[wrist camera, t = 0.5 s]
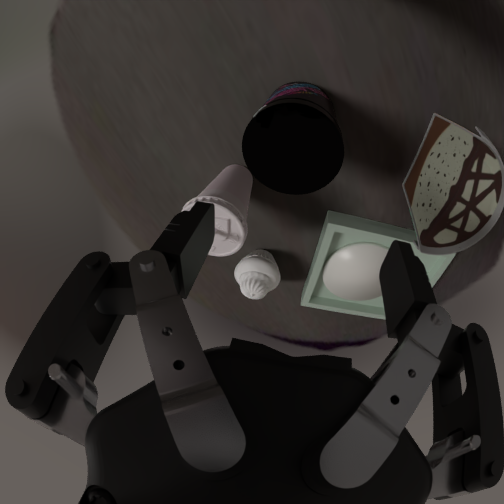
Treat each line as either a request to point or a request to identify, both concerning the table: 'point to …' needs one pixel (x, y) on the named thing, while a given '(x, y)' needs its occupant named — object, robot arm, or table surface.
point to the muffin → (257, 274)
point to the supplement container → (294, 140)
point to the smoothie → (228, 208)
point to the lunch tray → (358, 265)
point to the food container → (453, 188)
